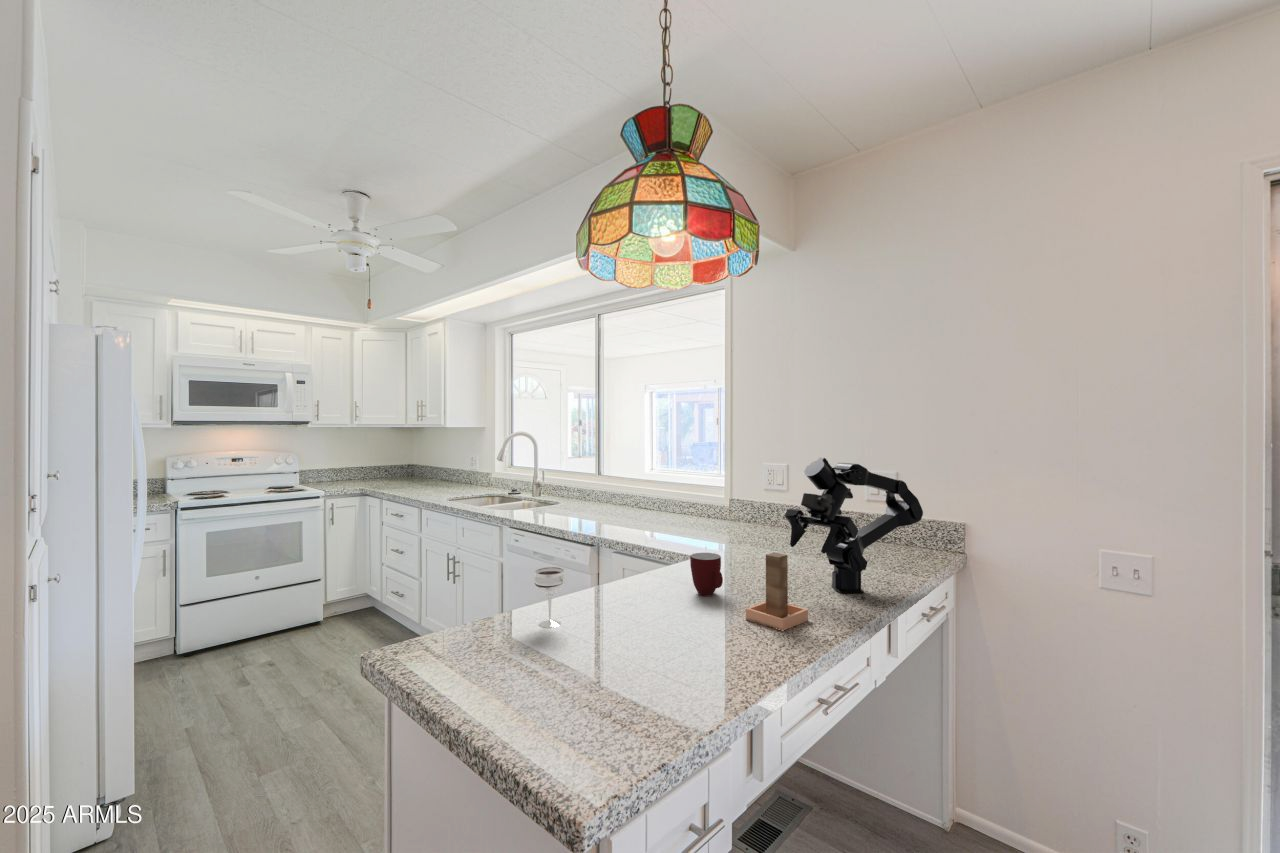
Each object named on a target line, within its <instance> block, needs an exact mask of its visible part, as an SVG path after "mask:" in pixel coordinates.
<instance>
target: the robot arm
mask: <svg viewBox="0 0 1280 853" xmlns="http://www.w3.org/2000/svg"><path fill="white" fill-rule="evenodd" d="M803 472H804V476H806V477H807V478H808V479H809V481H810V482H811V483H812V485H814V487H815V488H816V489H817V490H820V491H823V492H822V493H821V495H820V494H815V493H806V492H804V493H803V494H802V499H801V503H800V506H802V507H804V508H806V512H807V513H808V514H809V515H806V514H804V512H803V510H801V509H796V508H795V509H794V508H788V509H787V510H786V512H785V514H784V515H783V516H784V517H785V519H786V520H787V521H788V523H789V525H790V526H791V529H790V530H791V532H790V541H789V545H790V547H791V548H794V547H795V546H796V545H797V544H798V543H799V541H800V539H801V538H802V537H803V536H804V535H805V533H806V529H808V526H809V525H814V526H818V527H823V528H827V529H829V533H828V535H827V536H826V539H825V541H824V543H823V545H822V548H821V550H820V551H821V553H822V554H826V557H827V560H828V563H829V565H831V566H833V571H831V572H832V573H831V579H832V581H831V587H832V588H833V589H835V591H837V592H838V593H840V594H864V593H865V590H863V589H862V572H863V571H865V570H867V565H868V561H867V560H866V559H865V558H864V556H863V555H864V551H865V549H866V548H868V547H870V546H871V545H873V544H874V543H876V542H877V541H879V540H881V539H882V538H884V537H885V536H886V535H888V534H890V533H891V532H892V531H894V530H896V529H897V528H899V527H900V528H901V527H907V526H911V525H915V524H918V523H919V522H920V521H921V519H923V518H922V517H923V516H924V511H923V508H922V506H921V503H920V501H919V499H918V497H917V496H916V495H914V493H912V491H911V490H910V489H909V487H908V485H907V483H906V482H905V481H903V480H901V479H894V478H891V477H888V476H884V475H880V474H877V473H874V472H872V471H870V470H868V468H867V467H864V466H862V465H860V464H859V463H850V462H849V463H848V462H837V464H836V465H835V466H832V465H831V464H830V463H829V461H828V460H827V459H826V457H818V459H817V460H815V461H812V462H811V463H810V464H808V465H807V466H805V469H804V471H803ZM847 485H851V486H865V487H869V488H872V489H876V490H881V491H883V492H885V494H886V496H885V504H886V509H885V513H884V514H882V515H881V516H879V517H878V518H876V519H874V520H873V521H871V522H869V523H868V524H866V525H864V526H862V528H861V527H860V529H858V526H856V524H855V522H854V521H853V519H852V517H851V516H845V515H842V513H843V511H842V510H841V508H842V505H843V504H844V502H845V500H846V499H847V500H848V499H850V500H851V499H853V498H854V495H853V492H852V491H851V488H850V487H849V488H848V487H847ZM895 495H898V496H899V498H901V499H902V500H900V499H897V498H896V496H895Z"/></svg>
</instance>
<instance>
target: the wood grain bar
mask: <svg viewBox="0 0 1280 853" xmlns="http://www.w3.org/2000/svg"><path fill="white" fill-rule="evenodd" d="M788 558H789V557H788V554H787V553H786V554H784V553H780V552H775V551H774V552H771V553H767V554H765V601H766V614H769V615H773V616H776V617H779V618H785V617H787V616H789V615H788V604H789V603H788V602H789V601H788V600H789V599H788V598H789V596H788V594H789V592H788V591H789V590H788V586H789V585H788V583H789V581H788V579H789V578H788V571H789V570H788V567H789V566H788Z"/></svg>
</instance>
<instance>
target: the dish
mask: <svg viewBox="0 0 1280 853" xmlns="http://www.w3.org/2000/svg"><path fill="white" fill-rule="evenodd" d="M788 615H789V616H787V617H785V618H779V617H776V616H773V615H769V614H766V600H765V601H763V602H760V603H758V604H755V605H752V606H750V607H746V608H745V620H747V621H749V620H750V622H752V621H753V622H752V623H755V622H756V624H758V623H759V625H762V624H763V625H762V626H765V625H766V626H765V627H768V626H770V627H769V628H771V627H773V628H772V629H774V628H777V629H780V630H786V629H788V628H790V627H792V628H794V627H793V626H795V625H797V626H799V625H800V623H801V624H803V623H806V622H808V621H809V608H808V609H807V608H803V607H801V606H797V605H793V604H789V603H788ZM807 620H808V621H807ZM805 621H806V622H805ZM798 624H799V625H798ZM795 627H796V626H795ZM777 629H776V630H777ZM790 629H791V628H790ZM780 630H779V631H780ZM788 630H789V629H788ZM786 631H787V630H786Z"/></svg>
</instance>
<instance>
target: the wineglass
mask: <svg viewBox="0 0 1280 853" xmlns="http://www.w3.org/2000/svg"><path fill="white" fill-rule="evenodd" d="M534 573H535V577H534V586H535V588H536V589H537V590H538V591H539V592H540V593H542V594H544V595H546V596H547V603H548V605H547V606H548V619H546V620H542V621H540V622H539V623H538V626H539V627H541V628H545V629H548V628H549V629H551V628H556V627H559V626H561V624H562V622H561V621H559V620H557V619H552V617H551V616H552V597H553V596H554V594H556V593H558V592H559V591H560V590H562V588H563V587H564V584H565V575H564V573H565V569H564V568H562V567H555V566H552V567H551V566H549V567H541V568H538V569H536V570H534Z"/></svg>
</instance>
